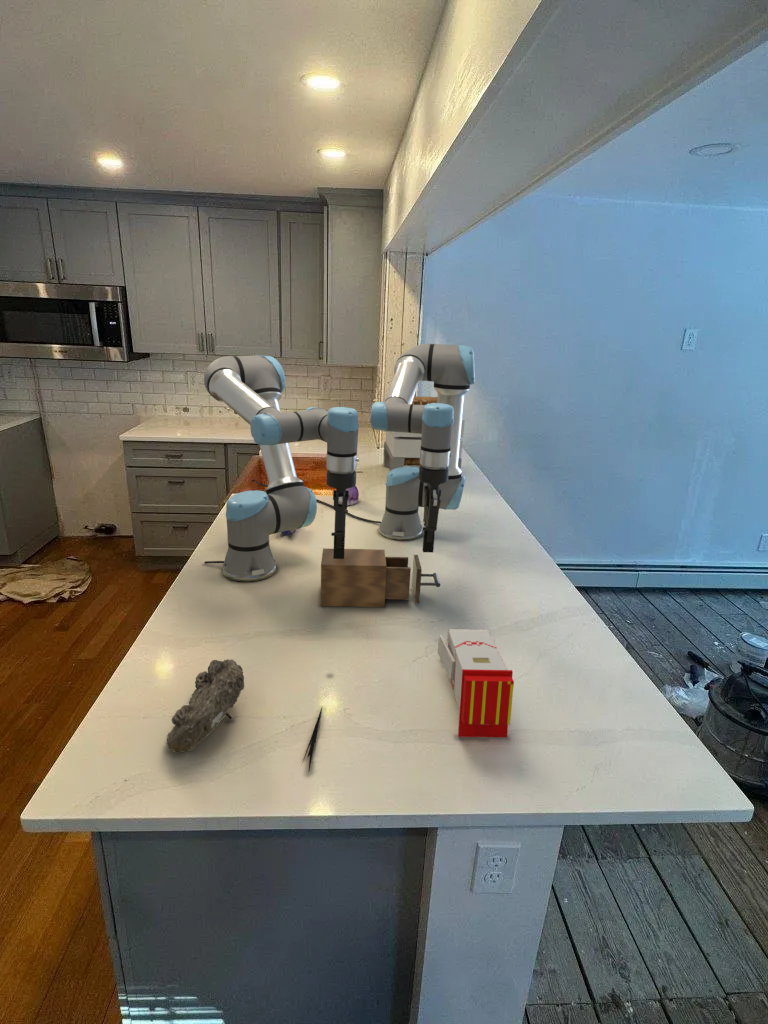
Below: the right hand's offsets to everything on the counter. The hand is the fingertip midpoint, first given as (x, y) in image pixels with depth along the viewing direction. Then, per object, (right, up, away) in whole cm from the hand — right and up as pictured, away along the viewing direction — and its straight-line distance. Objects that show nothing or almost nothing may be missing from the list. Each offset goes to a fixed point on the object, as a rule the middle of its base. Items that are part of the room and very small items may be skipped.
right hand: (427, 551), depth 151 cm
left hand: (-24, +1, -1) cm, 24 cm away
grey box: (+6, +29, +124) cm, 127 cm away
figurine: (-26, +14, +78) cm, 83 cm away
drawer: (-7, -12, +4) cm, 15 cm away
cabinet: (-20, -13, +4) cm, 24 cm away
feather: (-24, -29, -43) cm, 57 cm away
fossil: (-44, -29, -43) cm, 68 cm away
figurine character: (-45, +4, +46) cm, 65 cm away
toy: (+6, -27, -33) cm, 43 cm away
